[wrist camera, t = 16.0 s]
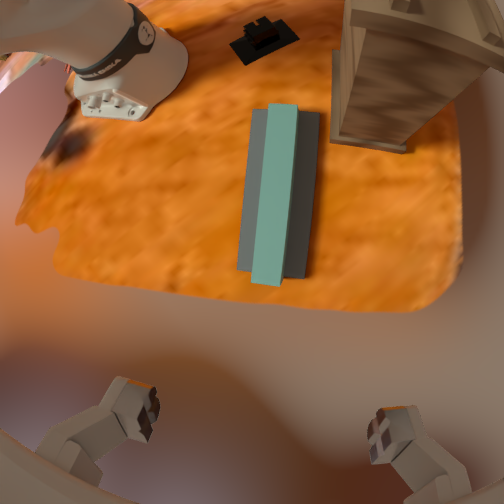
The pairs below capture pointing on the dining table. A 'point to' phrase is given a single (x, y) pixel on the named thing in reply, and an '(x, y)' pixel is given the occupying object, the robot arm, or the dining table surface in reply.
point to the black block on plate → (262, 39)
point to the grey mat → (300, 196)
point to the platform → (3, 57)
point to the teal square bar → (275, 194)
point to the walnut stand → (407, 65)
